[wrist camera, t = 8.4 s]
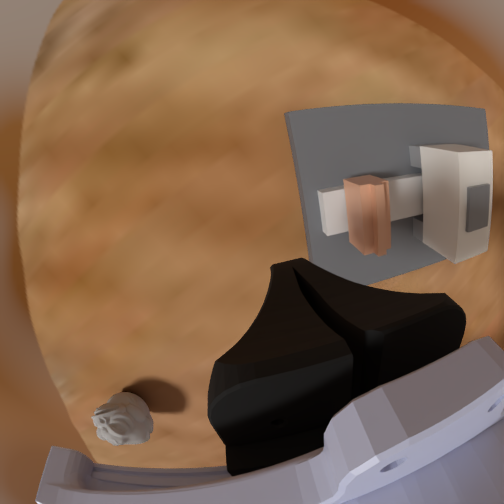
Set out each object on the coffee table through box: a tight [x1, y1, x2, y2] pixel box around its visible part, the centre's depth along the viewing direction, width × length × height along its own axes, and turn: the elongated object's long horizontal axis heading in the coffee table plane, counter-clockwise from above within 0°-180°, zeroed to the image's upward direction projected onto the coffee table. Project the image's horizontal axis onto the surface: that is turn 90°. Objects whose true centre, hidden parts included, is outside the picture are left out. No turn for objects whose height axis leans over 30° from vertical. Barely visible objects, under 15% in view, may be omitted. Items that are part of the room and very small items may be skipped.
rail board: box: [284, 103, 489, 285], centre depth 19 cm, size 14×20×3 cm
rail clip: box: [343, 175, 391, 257], centre depth 16 cm, size 4×2×3 cm, turn 12°
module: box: [409, 143, 493, 264], centre depth 16 cm, size 8×4×6 cm, turn 12°
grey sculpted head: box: [91, 392, 153, 446], centre depth 23 cm, size 6×7×7 cm
